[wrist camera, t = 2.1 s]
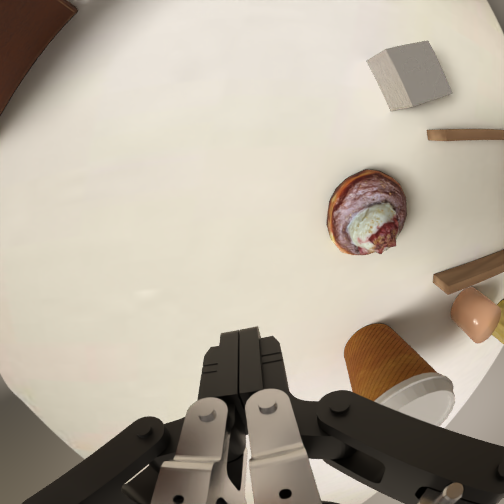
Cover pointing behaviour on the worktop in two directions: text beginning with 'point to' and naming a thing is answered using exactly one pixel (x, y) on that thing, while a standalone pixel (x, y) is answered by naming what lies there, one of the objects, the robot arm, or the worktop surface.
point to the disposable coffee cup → (397, 375)
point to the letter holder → (26, 37)
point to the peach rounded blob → (475, 314)
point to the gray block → (409, 75)
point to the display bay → (483, 266)
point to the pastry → (366, 213)
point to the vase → (500, 325)
